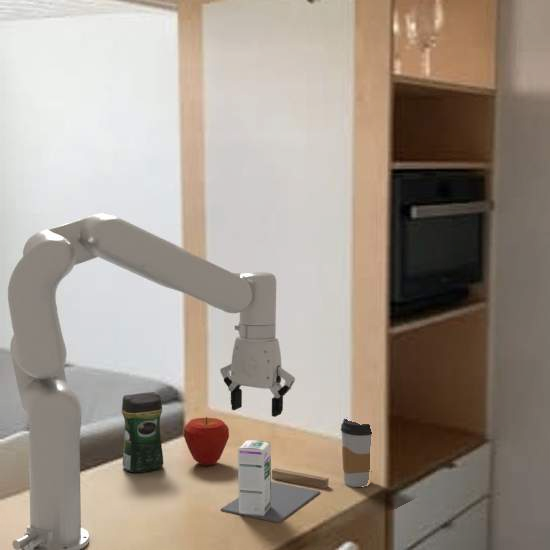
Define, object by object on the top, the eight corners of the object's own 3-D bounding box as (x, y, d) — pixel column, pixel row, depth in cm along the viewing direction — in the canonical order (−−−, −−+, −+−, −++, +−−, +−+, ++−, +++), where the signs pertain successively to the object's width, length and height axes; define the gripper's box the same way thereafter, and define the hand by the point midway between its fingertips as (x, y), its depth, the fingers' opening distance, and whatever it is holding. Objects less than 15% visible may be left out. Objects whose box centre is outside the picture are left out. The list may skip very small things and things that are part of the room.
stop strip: (325, 488, 202) (325, 480, 202) (271, 478, 208) (271, 470, 208) (328, 486, 203) (328, 478, 203) (274, 476, 210) (275, 468, 209)
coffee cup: (382, 485, 204) (384, 422, 202) (353, 492, 200) (355, 427, 198) (360, 475, 211) (362, 414, 210) (332, 481, 207) (333, 418, 205)
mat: (278, 523, 182) (278, 521, 182) (220, 510, 188) (220, 508, 188) (319, 492, 199) (320, 491, 199) (265, 482, 206) (265, 480, 206)
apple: (174, 464, 218) (174, 416, 216) (206, 454, 226) (206, 408, 224) (206, 474, 210) (206, 425, 209) (237, 463, 218) (237, 416, 217)
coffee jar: (155, 460, 221) (155, 387, 218) (167, 469, 214) (166, 395, 212) (118, 465, 216) (117, 392, 214) (128, 475, 209) (127, 399, 207)
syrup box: (264, 516, 184) (265, 449, 182) (237, 513, 185) (237, 446, 184) (271, 506, 190) (272, 441, 188) (245, 503, 191) (245, 438, 189)
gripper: (212, 330, 184) (211, 410, 186) (286, 338, 176) (284, 422, 178) (231, 325, 190) (230, 402, 192) (302, 333, 182) (301, 413, 184)
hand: (256, 411), depth 185 cm, fingers open, 9 cm apart
